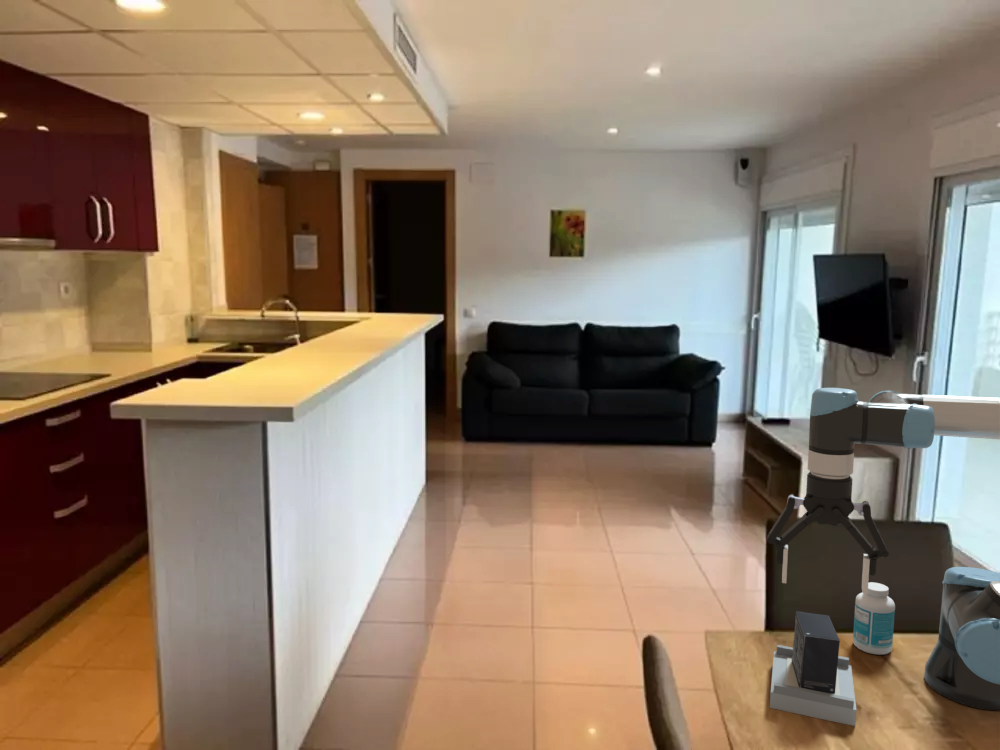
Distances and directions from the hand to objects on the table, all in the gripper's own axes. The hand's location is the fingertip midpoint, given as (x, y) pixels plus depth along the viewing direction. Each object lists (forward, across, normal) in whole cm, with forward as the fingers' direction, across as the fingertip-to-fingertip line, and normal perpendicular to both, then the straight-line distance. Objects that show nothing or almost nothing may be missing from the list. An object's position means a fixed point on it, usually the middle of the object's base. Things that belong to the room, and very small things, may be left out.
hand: (823, 585), depth 136 cm
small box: (+18, +1, +1) cm, 18 cm away
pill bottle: (+21, -11, -23) cm, 33 cm away
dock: (+21, +1, +1) cm, 21 cm away
